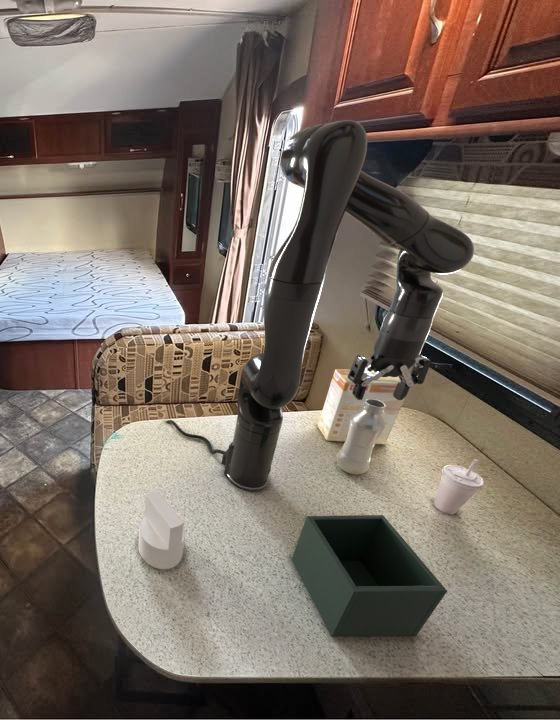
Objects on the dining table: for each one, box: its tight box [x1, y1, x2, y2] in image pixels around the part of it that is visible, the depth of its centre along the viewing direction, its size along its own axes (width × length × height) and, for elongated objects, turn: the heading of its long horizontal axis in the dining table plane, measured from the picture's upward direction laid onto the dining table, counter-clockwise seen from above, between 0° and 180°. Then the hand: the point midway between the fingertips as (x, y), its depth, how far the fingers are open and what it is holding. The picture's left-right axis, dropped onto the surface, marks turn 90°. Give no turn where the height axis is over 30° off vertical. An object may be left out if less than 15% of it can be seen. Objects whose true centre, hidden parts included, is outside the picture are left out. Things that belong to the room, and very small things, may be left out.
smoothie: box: [433, 458, 485, 515], centre depth 79 cm, size 6×6×14 cm
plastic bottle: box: [336, 399, 385, 475], centre depth 89 cm, size 6×7×20 cm
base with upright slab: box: [138, 489, 186, 570], centre depth 74 cm, size 9×9×12 cm
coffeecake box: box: [317, 368, 406, 445], centre depth 100 cm, size 15×7×20 cm, turn 80°
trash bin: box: [291, 514, 448, 638], centre depth 64 cm, size 14×14×13 cm
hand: (377, 398), depth 84 cm, fingers open, 8 cm apart
